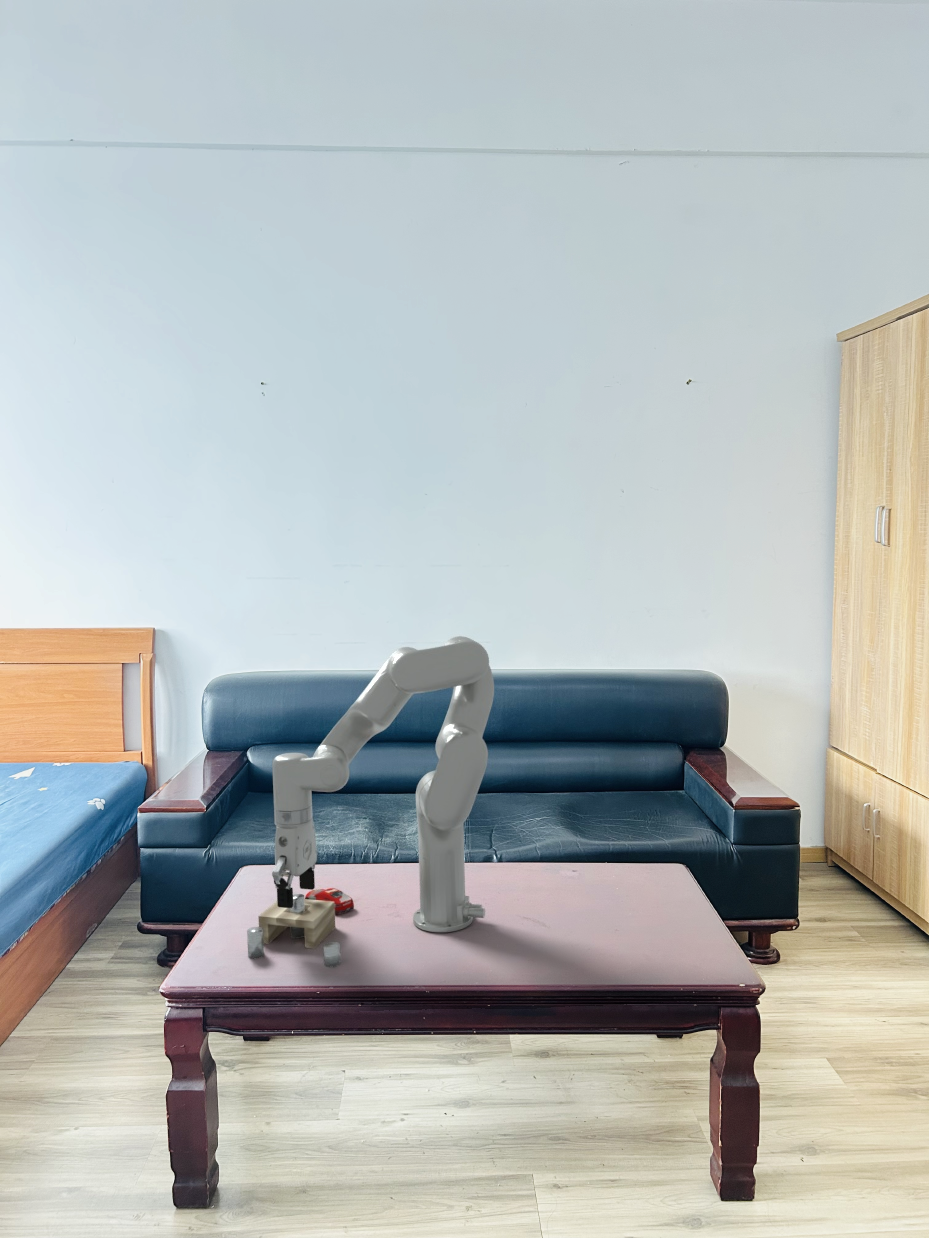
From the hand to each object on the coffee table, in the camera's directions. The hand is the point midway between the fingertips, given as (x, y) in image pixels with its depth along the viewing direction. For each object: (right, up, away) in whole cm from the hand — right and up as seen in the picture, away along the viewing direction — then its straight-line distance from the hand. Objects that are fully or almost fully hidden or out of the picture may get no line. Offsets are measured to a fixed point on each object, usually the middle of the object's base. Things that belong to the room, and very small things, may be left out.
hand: (296, 897), depth 176 cm
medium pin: (-6, -9, -8) cm, 13 cm away
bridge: (0, -8, +1) cm, 8 cm away
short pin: (+9, -9, -12) cm, 18 cm away
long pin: (0, -8, +1) cm, 8 cm away
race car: (+4, -7, +15) cm, 17 cm away
